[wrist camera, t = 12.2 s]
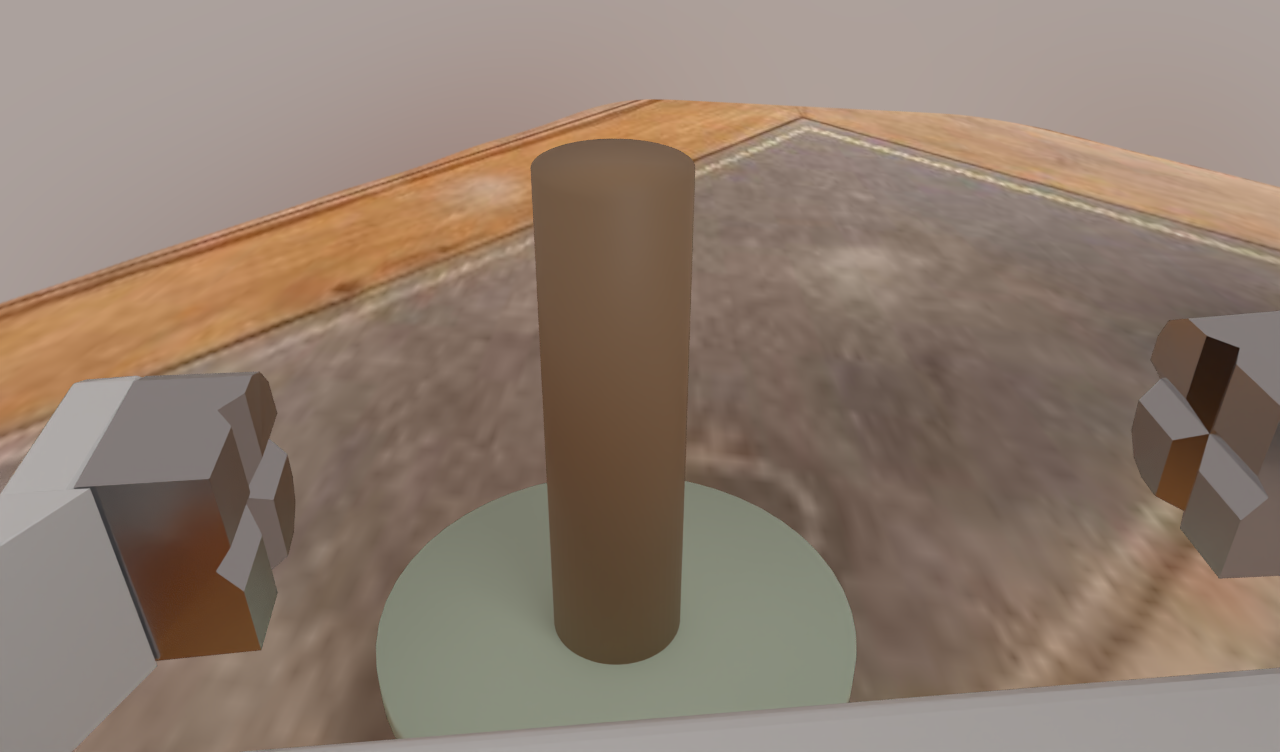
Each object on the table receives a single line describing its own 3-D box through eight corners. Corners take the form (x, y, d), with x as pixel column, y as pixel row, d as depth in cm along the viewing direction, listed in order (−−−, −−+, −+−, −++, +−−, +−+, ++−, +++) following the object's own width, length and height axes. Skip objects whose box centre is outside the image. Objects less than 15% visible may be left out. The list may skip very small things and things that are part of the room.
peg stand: (543, 454, 34) (522, 53, 28) (910, 574, 30) (992, 125, 23) (274, 716, 25) (145, 216, 19) (739, 948, 21) (793, 390, 14)
